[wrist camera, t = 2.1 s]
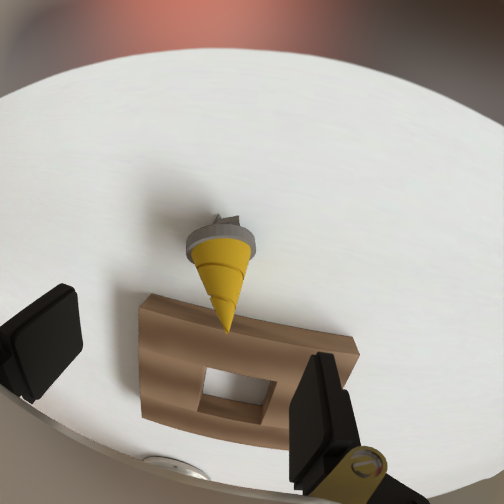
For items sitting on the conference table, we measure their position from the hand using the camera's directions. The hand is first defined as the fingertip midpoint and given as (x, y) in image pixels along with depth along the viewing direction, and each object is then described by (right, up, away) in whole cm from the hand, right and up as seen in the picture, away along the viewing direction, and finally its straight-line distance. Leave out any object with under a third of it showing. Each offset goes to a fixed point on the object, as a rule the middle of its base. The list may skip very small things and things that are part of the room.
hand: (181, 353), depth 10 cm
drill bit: (+1, +4, +15) cm, 15 cm away
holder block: (+1, -10, +19) cm, 21 cm away
